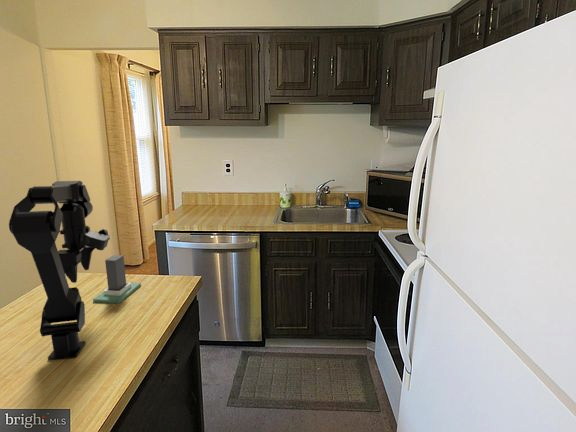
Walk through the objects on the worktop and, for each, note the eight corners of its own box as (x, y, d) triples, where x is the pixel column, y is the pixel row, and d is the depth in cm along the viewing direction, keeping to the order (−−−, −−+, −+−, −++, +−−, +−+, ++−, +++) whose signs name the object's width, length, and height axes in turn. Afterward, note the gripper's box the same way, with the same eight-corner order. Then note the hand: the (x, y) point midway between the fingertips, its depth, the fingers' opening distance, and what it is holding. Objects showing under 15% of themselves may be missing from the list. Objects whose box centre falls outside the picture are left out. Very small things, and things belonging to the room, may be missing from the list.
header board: (119, 303, 116) (118, 296, 115) (93, 301, 116) (92, 294, 116) (140, 285, 129) (140, 279, 128) (117, 284, 130) (116, 277, 129)
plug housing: (118, 294, 120) (115, 260, 117) (108, 293, 120) (105, 260, 118) (126, 287, 125) (123, 255, 122) (117, 287, 125) (113, 255, 122)
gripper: (92, 233, 93) (99, 287, 97) (114, 216, 111) (119, 263, 115) (46, 234, 91) (54, 290, 95) (75, 217, 109) (82, 264, 113)
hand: (80, 275), depth 105 cm, fingers open, 9 cm apart
